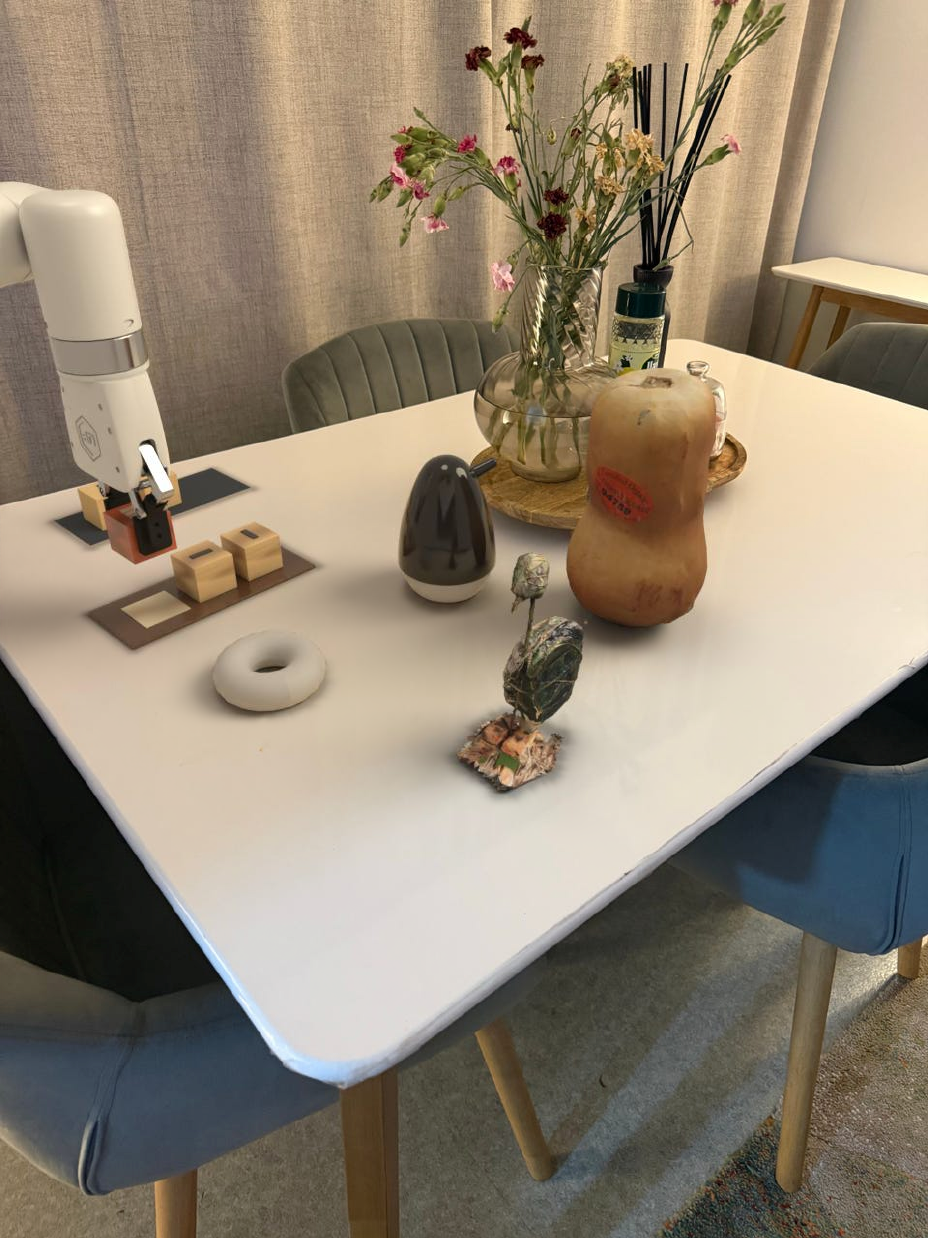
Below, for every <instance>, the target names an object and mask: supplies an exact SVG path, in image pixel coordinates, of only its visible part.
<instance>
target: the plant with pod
mask: <svg viewBox="0 0 928 1238" xmlns="http://www.w3.org/2000/svg"><path fill="white" fill-rule="evenodd" d="M550 569H551V567H550V562H549V560H548V558H547V557H546V556H545V555H543V554H541V553H540V554H538V553H534V552H527V553H524V554H521V555H519V556H518V558H517V560H516V562H515V567H514V568H513V571H512V572H513V573H512V578H511V588H510V589H509V590H510V591H511V593H512V594H514V595H515V599H514V601H513V602H512V603H511V605H512V607H511V610H510V613H511V614H512V615H513V614H514V613H516V611H517V609H518V605H520V604H521V603H524V602H525V601H526V600H529V609H528V620H527V627H526V628H527V629H526V631H525V632H524V634H523V635H522V636H521V637H519V639H518V640H517V642H516V644H514V646H513V648H512V651H511V653H510V655H509V657H508V659H507V661H506V664H505V667H504V668H503V669H504V670H503V671H502V679H503V684H502V685H501V686H502V688H503V697H504V700H505V702H506V703H507V704H508V705H510V706H511V707H513V710H512V712H510V713H509V711H506V712H504V713H503V714H502V715H497V717H495V719H492V720H491V719H490V720H485V723H483V722H482V724H478V725H479V727H478V728H477V730H476V731H473V733H474V734H472V735H469V736H466V739H467V742H466V743H463V746H464V747H461V749H460V751H459V752H457V757H458V760H459V761H461V763H462V762H463V763H466V765H469V764H471V763H473V762H474V764H473V769H476V768H477V767H478V770H477V772H481V773H484V774H483V775H482V778H487V780H491V782H492V783H493V782H494V783H493V784H492V786H495V787H496V788H497V790H499V791H504V790H505V791H506V790H507V791H510V790H514V789H515V788H516V787H520V786H521V785H525V784H526V783H528V782H530V780H533V779H535V778H537V777H539V776H540V777H541V774H544V775H547V772H546V771H548V772H551V770H552V769H554V768H555V766H554V765H556V762H557V755H558V753H559V751H560V750H562V749H563V748H561V747H562V746H561V745H562V744H563V743H562V742H563V739H564V738H565V736H561V735H560V733H558V734H556V732H555V733H550V738H549V739H548V740H547V738H546V737H545V736H543V734H542V732H541V731H540V730H539V727H540V726H541V725H543V724H544V723H545V721H547V720H549V719H550V718H552V717H553V716H554V715H555V714H556V713H557V712H558V711H559V710H560V709H561V708H562V707H563V706H564V704H566V703H567V702H568V701H569V700H570V698H571V696H572V694H573V691H574V687H575V684H576V682H577V680H578V678H579V672H580V666H581V664H582V661H583V658H584V656H583V645H584V642H583V640H584V631H583V630H584V629H583V627H582V626H581V625H580V624H579V623H578V622H577V621H575V619H571V618H565V617H564V616H563V617H562V616H557V615H554V616H551V617H547V618H545V619H544V620H542V621H539V622H537V623H536V624H534V625H533V622H534V615H535V611H536V610H535V609H536V600H539V599H542V598H543V596H544V595H545V593H546V591H547V588H548V584H549V575H550ZM583 624H584V625H588V621H587V619H585V620H584V622H583ZM517 712H520V715H519V714H516V713H517ZM546 740H547V741H546Z"/></svg>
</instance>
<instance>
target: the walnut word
mask: <svg viewBox="0 0 928 1238" xmlns="http://www.w3.org/2000/svg"><path fill="white" fill-rule="evenodd" d="M219 537H220V542H221V546H219V545H217V544H216V543H214V542H212V541H211V540H209V539H206V540H203V541H201V542H198V543H196V544H193V545H191V546H188V547H185V548H183V549H180V550H177V551H175V552H173V553H171V554H170V560H171V565H172V571H173V575H174V576H172V577H170V578H167V579H165V580H162V581H160V582H157V583H154V584H153V585H150V586H147V587H146V588H143V589H140V590H138V591H136V592H133V593H131V594H128V595H126V596H124V597H121V598H119V599H116V600H113V601H111V602H109V603H107V604H104V605H102V606H99V607H96V608H95V609H92V610H89V611H88V612H87V613H88V614H87V615H89V616H90V618H93V620H95V621H96V622H97V623H99V624H100V625H102V626H103V627H104V628H105V629H107V630H108V631H109V632H110V633H112V634H113V635H114V636H115V637H116V638H118V639H119V640H121V641H122V642H123V643H125V644H126V645H127V646H128V647H130V648H131V649H132V650H133V651H134V650H138V649H140V648H142V647H145V646H146V645H149V644H151V643H153V642H155V641H158V640H160V639H162V638H164V637H166V636H169V635H171V634H173V633H176V632H178V631H180V630H182V629H184V628H186V627H188V626H191V625H192V624H195V623H197V622H199V621H201V620H204V619H206V618H209V617H210V616H213V615H215V614H217V613H219V612H222V611H224V610H226V609H228V608H230V607H232V606H236V605H237V604H240V603H241V602H244V601H246V600H248V599H250V598H252V597H255V596H256V595H259V594H261V593H264V592H265V591H268V590H270V589H272V588H274V587H276V586H279V585H281V584H283V583H286V582H288V581H290V580H292V579H294V578H296V577H299V576H301V575H303V574H305V573H308V572H309V571H312V570H314V569H316V568H317V564H314V563H313V562H311V561H309V560H308V559H305V558H303V557H302V556H300V555H298V554H296V553H295V552H293V551H291V550H289V549H287V548H285V547H283V546H282V545H281V537H280V534H279V533H277V532H276V531H274V530H272V529H270V528H268V527H266V526H264V525H262V524H260V523H258V522H256V521H252V522H249V523H246V524H244V525H242V526H240V527H237V528H234V529H232V530H229V531H227V532H224V533H221V534H220V536H219Z"/></svg>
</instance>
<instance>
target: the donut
mask: <svg viewBox="0 0 928 1238" xmlns="http://www.w3.org/2000/svg"><path fill="white" fill-rule="evenodd" d="M326 664H327V662H326V658H325V655H324V654H323V652H322V650H321V648H320V647H319V645H318V644H316V643H315V642H313V640H312V639H310V638H309V637H306V636H304V635H302V634H299V633H297V632H293V631H288V630H264V631H259V632H253V633H249V634H248V635H245V636H242V637H240V638H237V639H236V640H235V641H233V642H232V643H230V644H229V645H227V646H226V647H224V649H223V650H222V651H221V652H220V654H219V655H218V656H217V658H216V659H215V662H214V666H213V669H212V680H213V684H214V688H215V689H216V692H217V693H218V694H219V695H220V696H221V697H222V698H223V699H224V700H225V701H226V702H227V703H229V704H231V705H233V706H235V707H238V708H240V709H243V710H248V711H253V712H254V711H255V712H275V711H280V710H284V709H288V708H291V707H293V706H295V705H298V704H299V703H302V702H304V701H306V700H307V699H308V698H309V697H311V696H312V695H313V694H314V693H315V692H317V690H319V687H320V685H321V684H322V682H323V681H324V679H325V674H326ZM271 667H281V669H279V670H275V671H270V672H259V670H262V669H266V668H271Z"/></svg>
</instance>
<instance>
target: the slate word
mask: <svg viewBox="0 0 928 1238" xmlns="http://www.w3.org/2000/svg"><path fill="white" fill-rule="evenodd" d="M177 476H178V475H177V473H176V472H175V471H173V470H171V472H170V476H169V477H168V478H169V480H170V482H171V484H172V486H173V488H174V492H175V494H174V496H172V497H171V498H170V499H169V501H168V503H167V504H168V511H170V514H171V517H174V516H176V515H177V516H178V515H179V514H182V513H184V512H187V511H190V510H193V509H196V508H200V507H202V506H205V505H207V504H209V503H213V502H215V501H218V500H220V499H223V498H226V497H229V496H231V495H234V494H237V493H240V492H242V491H246V490H248V489H250V488H251V486H249V485H247V484H245V483H243V482H241V481H239V480H237V479H235V478H233V477H231V476H230V475H227V474H225V473H223V472H221V471H219V470H217V469H216V468H215V469H214V468H213V467H210V468H207V469H204V470H201V471H198V472H195V473H192V474H189V475H186V476H183V477H179V478H178V477H177ZM144 479H147V476H146V474H143V475H141V478H140V481H141V480H144ZM76 489H77V493H78V494H77V495H78V496H79V502H80V506H81V509H82V510H81V511H78V512H76V513H73V514H70V515H67V516H64V517H61V518H58V519H55V520H54V523H57V524H58V525H59V526H61V527H62V528H64V529H65V530H67V531H68V532H70V533H71V534H72V535H74V536H76V537H77V538H78V539H80V540H82V541H83V542H85V543H86V544H87V545H89V546H95V545H96V544H99V543H103V542H106V541H107V540H109V536H108V532H107V528H106V524H105V519H104V515H103V512H105V511H106V510H105V506H104V502H103V500H104V499H107V498H108V497H106V498H103V497H102V496H101V494H100V492H99V487H98V481H96V482H93V483H90V484H87V485H84V486H80V487H78V488H76ZM151 491H152V489H151V487H148V488H145V489H142V490H139V492H140V495H141V498H142V499H143V498H144V497H145V496H146V495H147V494H150V493H151Z"/></svg>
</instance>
